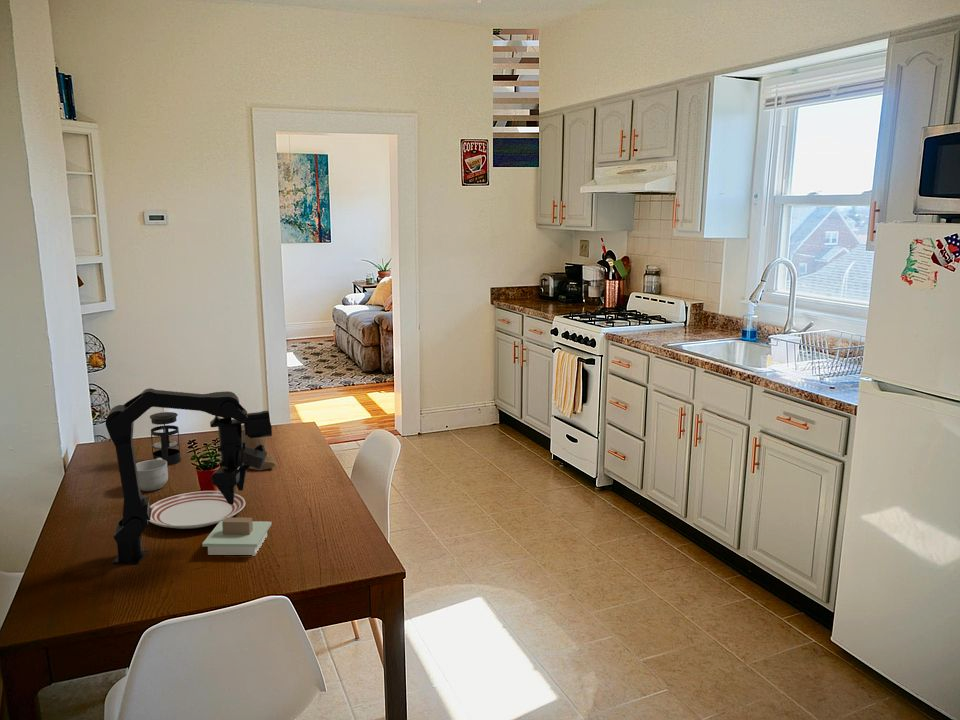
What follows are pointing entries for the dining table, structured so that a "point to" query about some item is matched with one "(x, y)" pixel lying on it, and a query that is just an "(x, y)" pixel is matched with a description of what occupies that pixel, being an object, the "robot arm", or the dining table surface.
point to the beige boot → (253, 443)
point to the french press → (165, 437)
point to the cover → (237, 533)
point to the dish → (235, 550)
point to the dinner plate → (194, 509)
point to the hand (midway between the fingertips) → (236, 497)
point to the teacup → (152, 474)
